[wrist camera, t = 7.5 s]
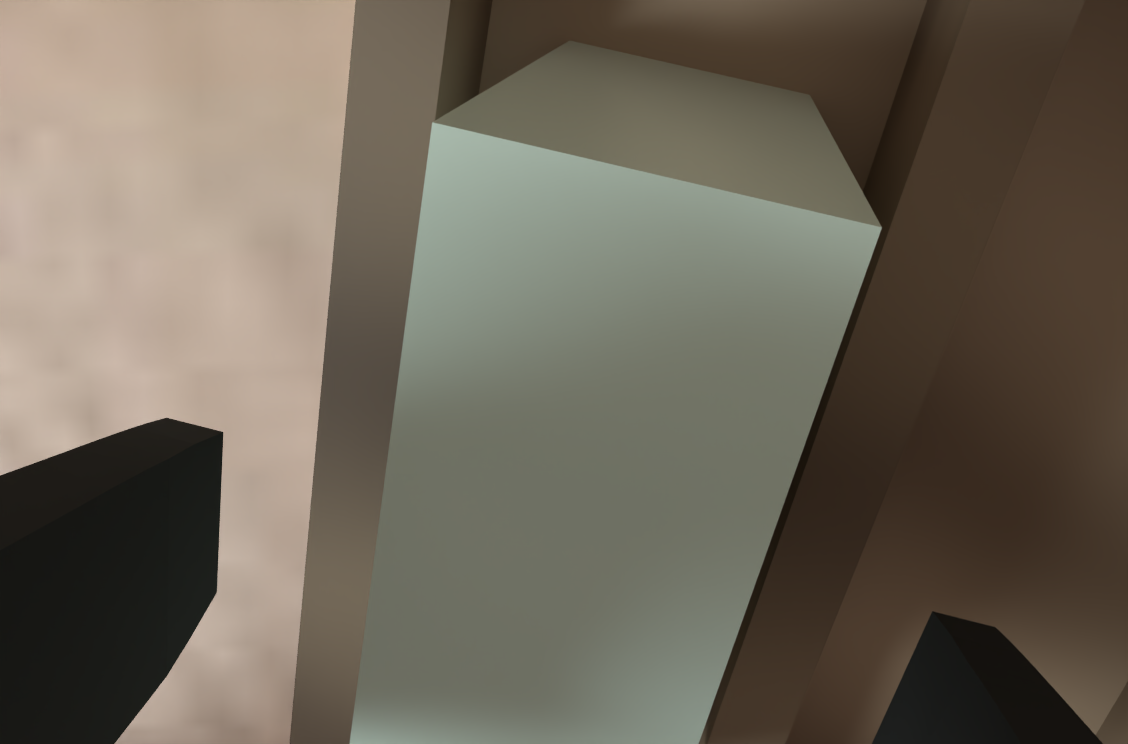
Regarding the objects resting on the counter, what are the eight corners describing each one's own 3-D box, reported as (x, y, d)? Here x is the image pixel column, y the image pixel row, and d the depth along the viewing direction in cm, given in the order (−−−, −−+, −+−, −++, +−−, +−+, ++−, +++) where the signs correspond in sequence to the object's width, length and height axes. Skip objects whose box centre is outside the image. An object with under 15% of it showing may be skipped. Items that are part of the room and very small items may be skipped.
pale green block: (641, 655, 15) (593, 1041, 10) (462, 607, 16) (320, 961, 10) (810, 94, 11) (882, 226, 6) (569, 40, 12) (432, 122, 6)
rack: (1033, 924, 18) (1087, 1100, 15) (319, 729, 19) (250, 863, 16) (1716, -157, 10) (2080, -193, 7) (441, -403, 11) (344, -517, 8)
